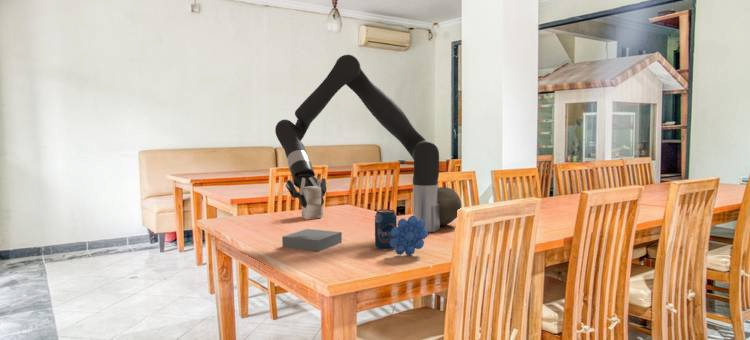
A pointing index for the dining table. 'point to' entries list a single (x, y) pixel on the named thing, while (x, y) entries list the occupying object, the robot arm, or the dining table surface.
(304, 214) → the grey piece
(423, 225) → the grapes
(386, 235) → the soda can
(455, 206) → the dark grey ball
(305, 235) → the slate base
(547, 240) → the dining table surface
